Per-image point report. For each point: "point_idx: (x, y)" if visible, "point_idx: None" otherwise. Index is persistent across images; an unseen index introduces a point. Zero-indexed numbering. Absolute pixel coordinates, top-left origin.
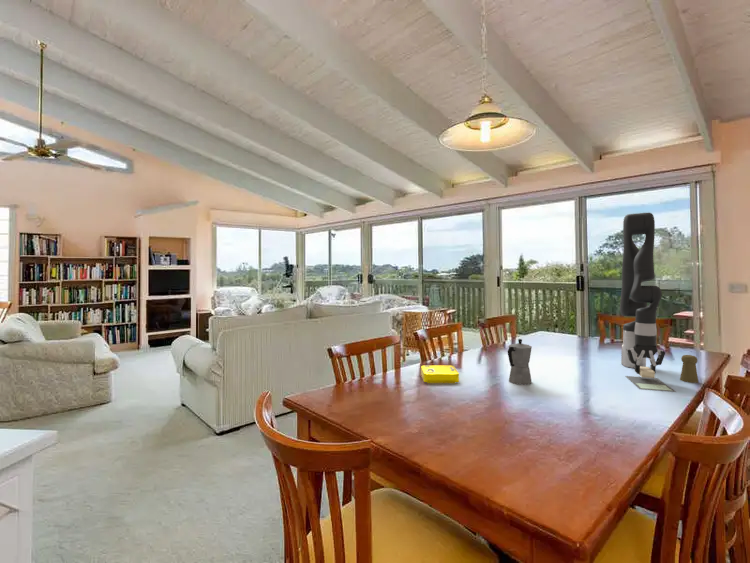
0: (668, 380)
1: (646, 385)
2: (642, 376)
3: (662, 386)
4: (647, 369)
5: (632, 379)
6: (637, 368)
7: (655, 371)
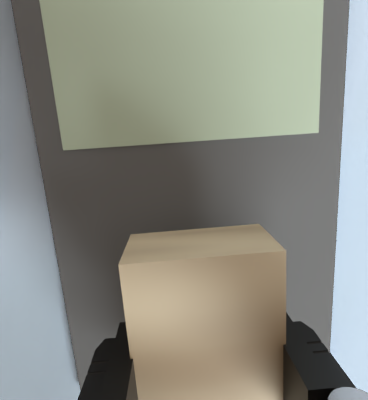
0: (4, 373)
1: (241, 69)
2: (255, 226)
3: (95, 86)
4: (186, 366)
5: (302, 272)
6: (311, 358)
7: (93, 358)
